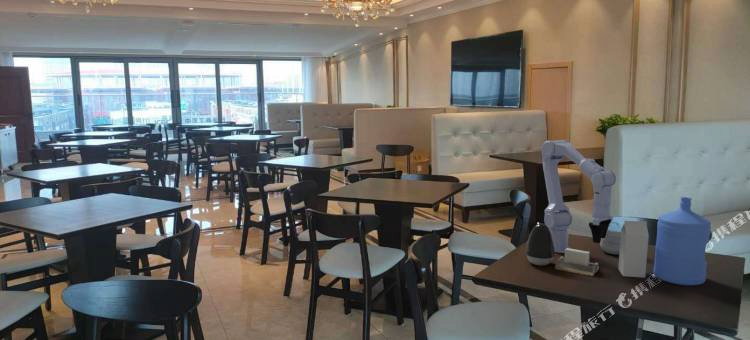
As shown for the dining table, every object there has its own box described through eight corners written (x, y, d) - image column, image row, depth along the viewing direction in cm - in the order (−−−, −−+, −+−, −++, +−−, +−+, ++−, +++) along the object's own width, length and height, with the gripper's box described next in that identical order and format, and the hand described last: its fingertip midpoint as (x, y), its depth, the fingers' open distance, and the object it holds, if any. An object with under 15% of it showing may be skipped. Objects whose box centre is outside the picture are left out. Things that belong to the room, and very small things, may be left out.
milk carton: (645, 278, 183) (649, 224, 180) (623, 276, 185) (627, 223, 182) (639, 271, 190) (643, 219, 187) (618, 269, 192) (622, 218, 189)
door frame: (562, 262, 200) (562, 255, 199) (598, 269, 192) (599, 261, 192) (554, 268, 192) (555, 261, 192) (592, 276, 185) (593, 268, 185)
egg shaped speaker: (550, 259, 203) (552, 220, 201) (556, 268, 193) (559, 227, 190) (523, 258, 204) (524, 219, 202) (528, 267, 194) (529, 226, 191)
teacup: (593, 250, 214) (594, 231, 213) (612, 247, 219) (614, 228, 218) (622, 260, 202) (623, 240, 201) (642, 256, 206) (643, 236, 205)
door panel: (565, 263, 196) (566, 247, 195) (588, 268, 191) (589, 251, 190) (564, 265, 194) (564, 249, 193) (587, 269, 189) (588, 253, 188)
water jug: (678, 288, 174) (686, 204, 170) (642, 272, 189) (649, 194, 185) (716, 283, 178) (725, 201, 174) (678, 268, 193) (685, 192, 189)
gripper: (608, 209, 185) (606, 246, 187) (617, 201, 197) (615, 237, 199) (587, 206, 189) (585, 243, 191) (597, 199, 201) (595, 234, 203)
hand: (599, 240), depth 195 cm, fingers open, 7 cm apart
